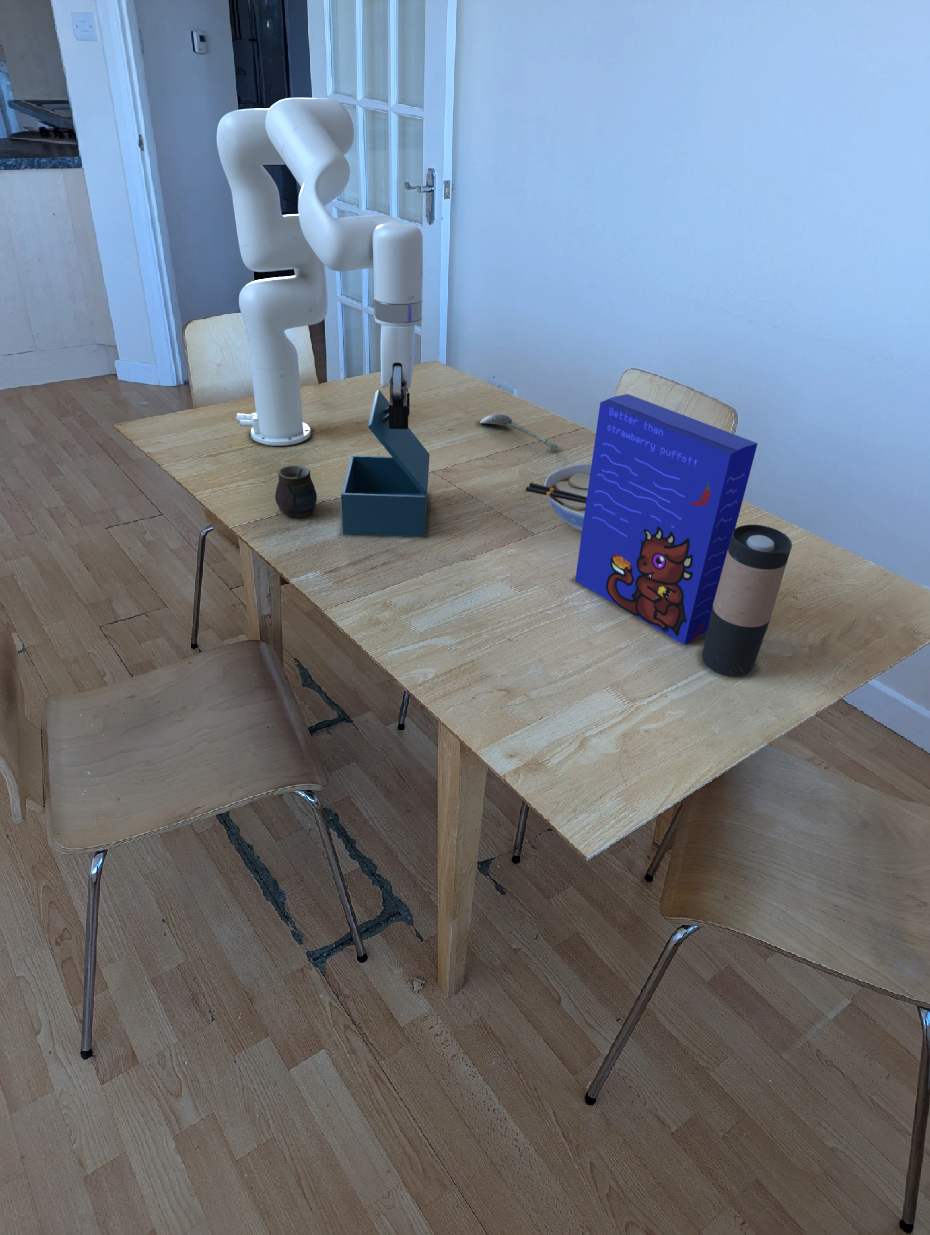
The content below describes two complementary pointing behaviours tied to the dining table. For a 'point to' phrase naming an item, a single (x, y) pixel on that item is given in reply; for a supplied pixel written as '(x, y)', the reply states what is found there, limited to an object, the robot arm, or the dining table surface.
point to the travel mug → (745, 598)
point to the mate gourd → (295, 491)
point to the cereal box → (661, 513)
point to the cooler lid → (400, 444)
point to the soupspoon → (507, 421)
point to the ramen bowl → (567, 492)
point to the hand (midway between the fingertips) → (399, 420)
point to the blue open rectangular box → (381, 499)
